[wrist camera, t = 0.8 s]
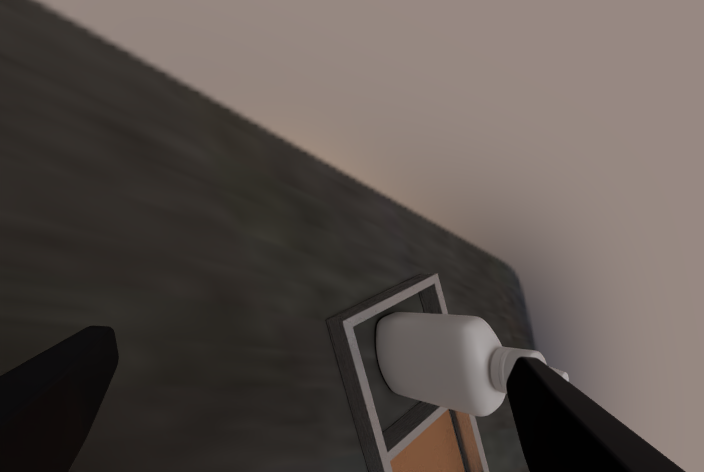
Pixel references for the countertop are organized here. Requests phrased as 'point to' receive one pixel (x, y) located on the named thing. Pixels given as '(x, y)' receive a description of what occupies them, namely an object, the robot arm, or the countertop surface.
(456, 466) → the tray
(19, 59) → the countertop surface
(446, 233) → the countertop surface
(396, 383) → the eye dropper bottle
